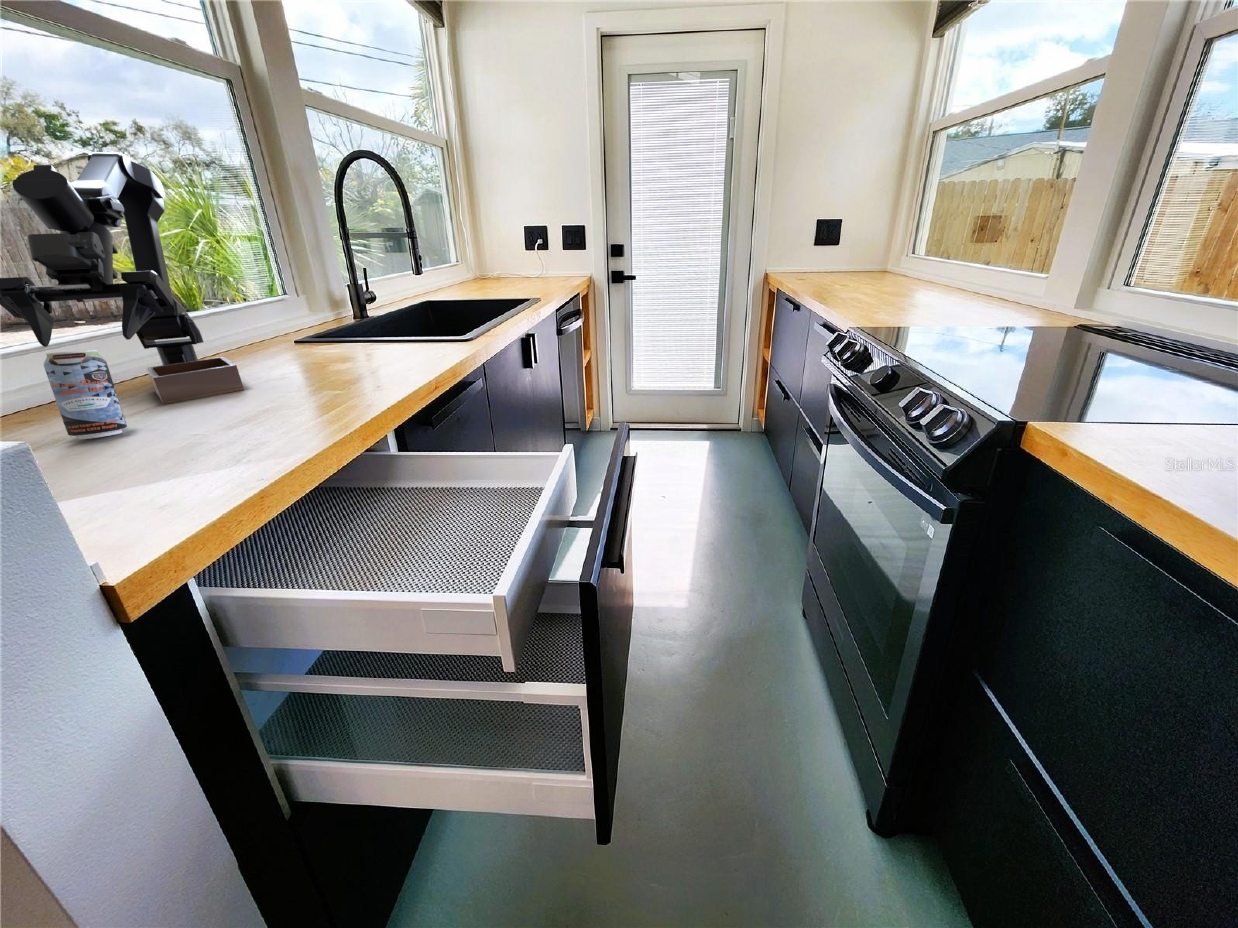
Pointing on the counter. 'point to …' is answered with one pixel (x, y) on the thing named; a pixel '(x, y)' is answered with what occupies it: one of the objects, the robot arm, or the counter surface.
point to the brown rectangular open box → (195, 379)
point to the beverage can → (85, 394)
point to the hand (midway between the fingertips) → (85, 341)
